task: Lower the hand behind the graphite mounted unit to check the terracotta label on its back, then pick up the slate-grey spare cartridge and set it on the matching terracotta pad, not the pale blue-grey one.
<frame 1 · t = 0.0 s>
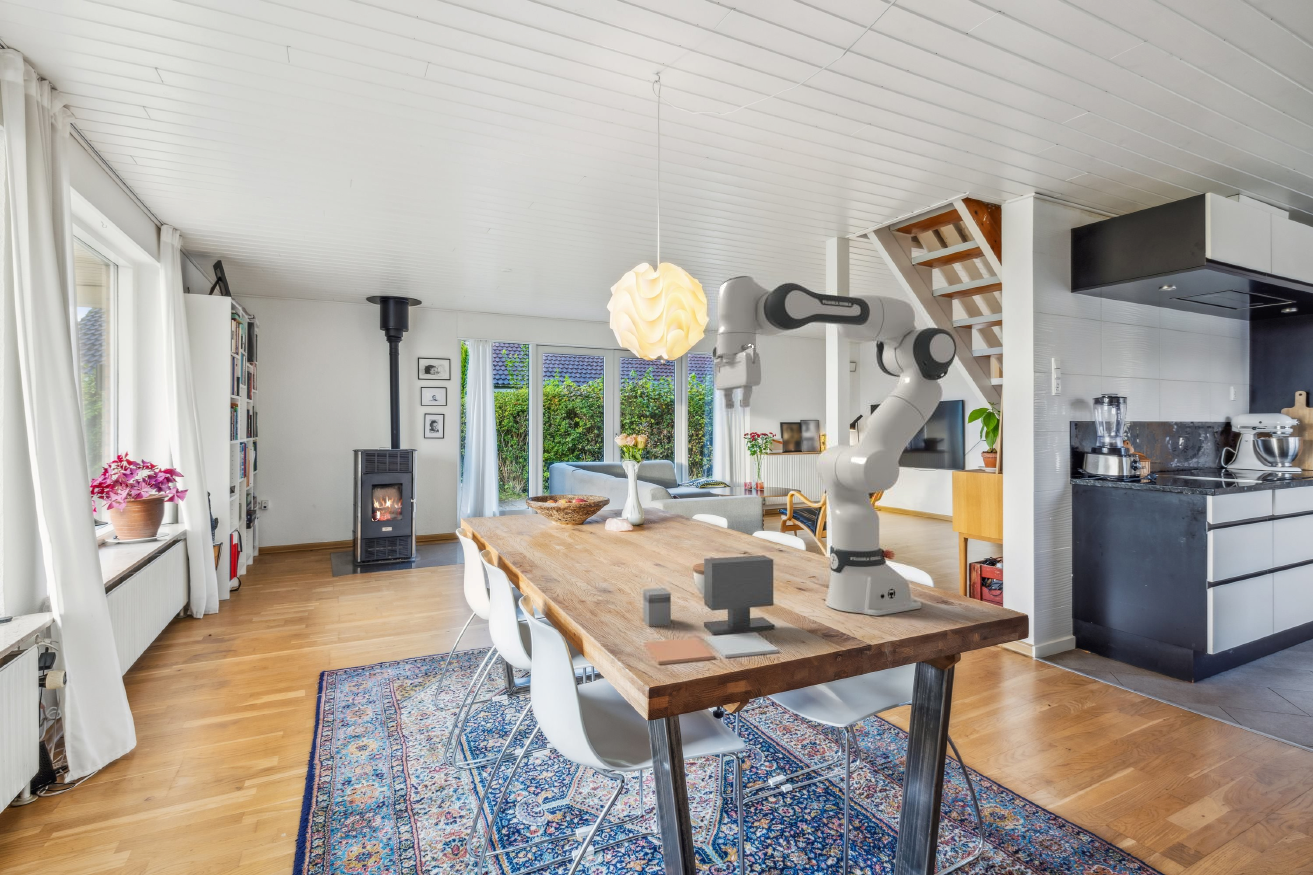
hand: (736, 408, 151), 48 cm above the table, fingers open, 8 cm apart
terracotta pad: (678, 651, 127), on the table
pale pad: (740, 645, 131), on the table
spare cartridge: (656, 622, 147), on the table
lidded jar: (713, 596, 170), on the table
mounted unit: (738, 627, 142), on the table
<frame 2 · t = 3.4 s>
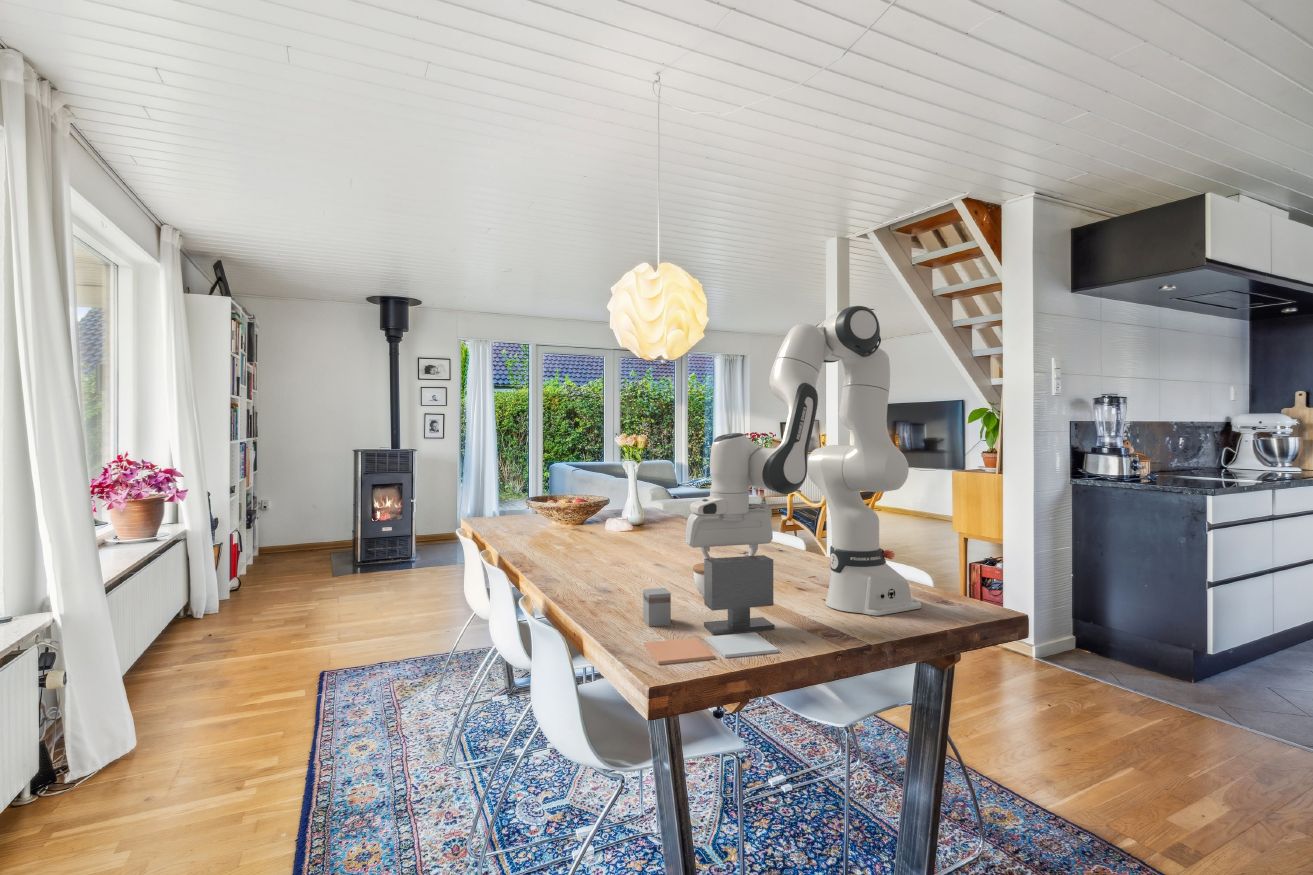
hand: (729, 564, 150), 12 cm above the table, fingers open, 8 cm apart
nothing on the table moved.
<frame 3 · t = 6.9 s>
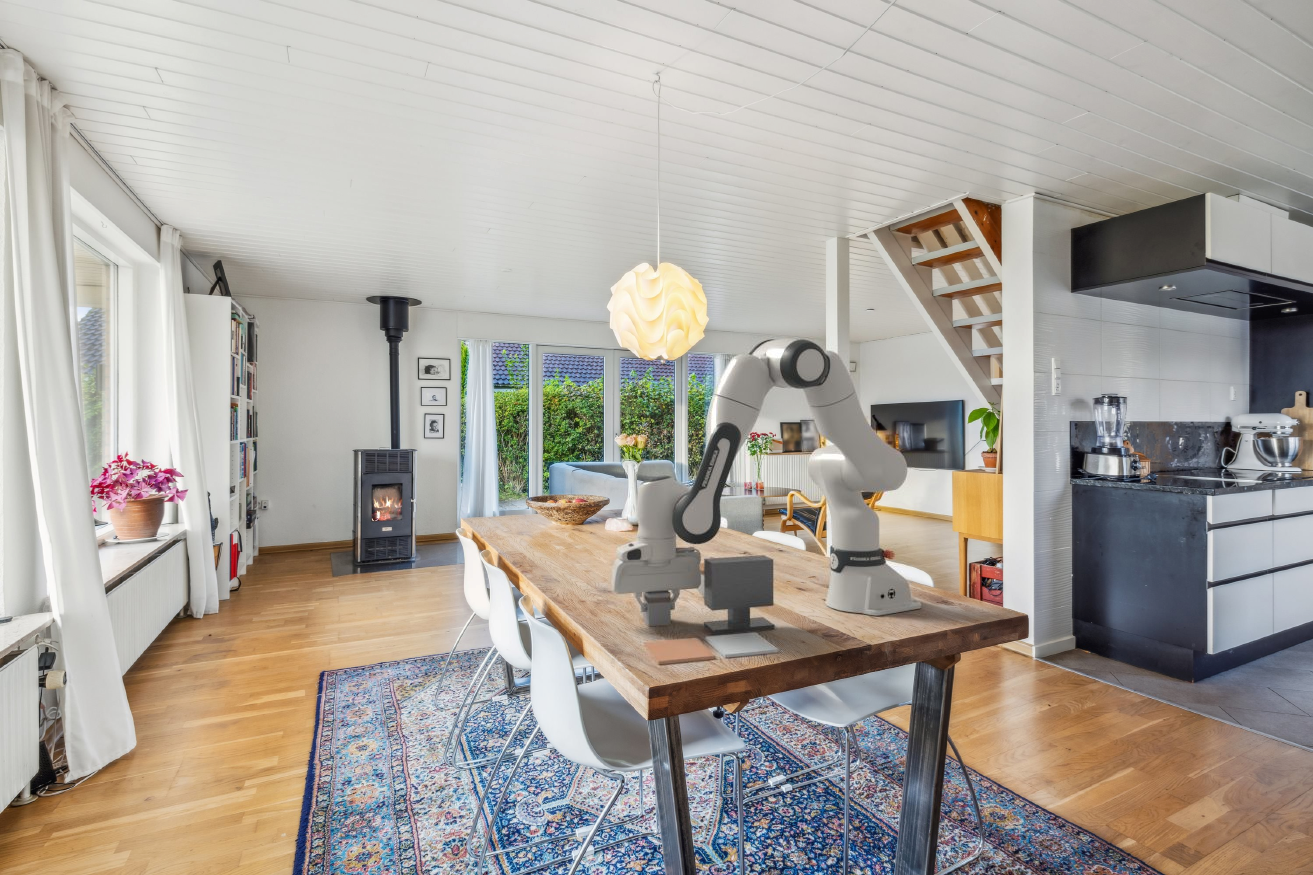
hand: (656, 610, 147), 3 cm above the table, fingers closed on spare cartridge, 5 cm apart
spare cartridge: (656, 622, 147), on the table, touching gripper
everything else where it was.
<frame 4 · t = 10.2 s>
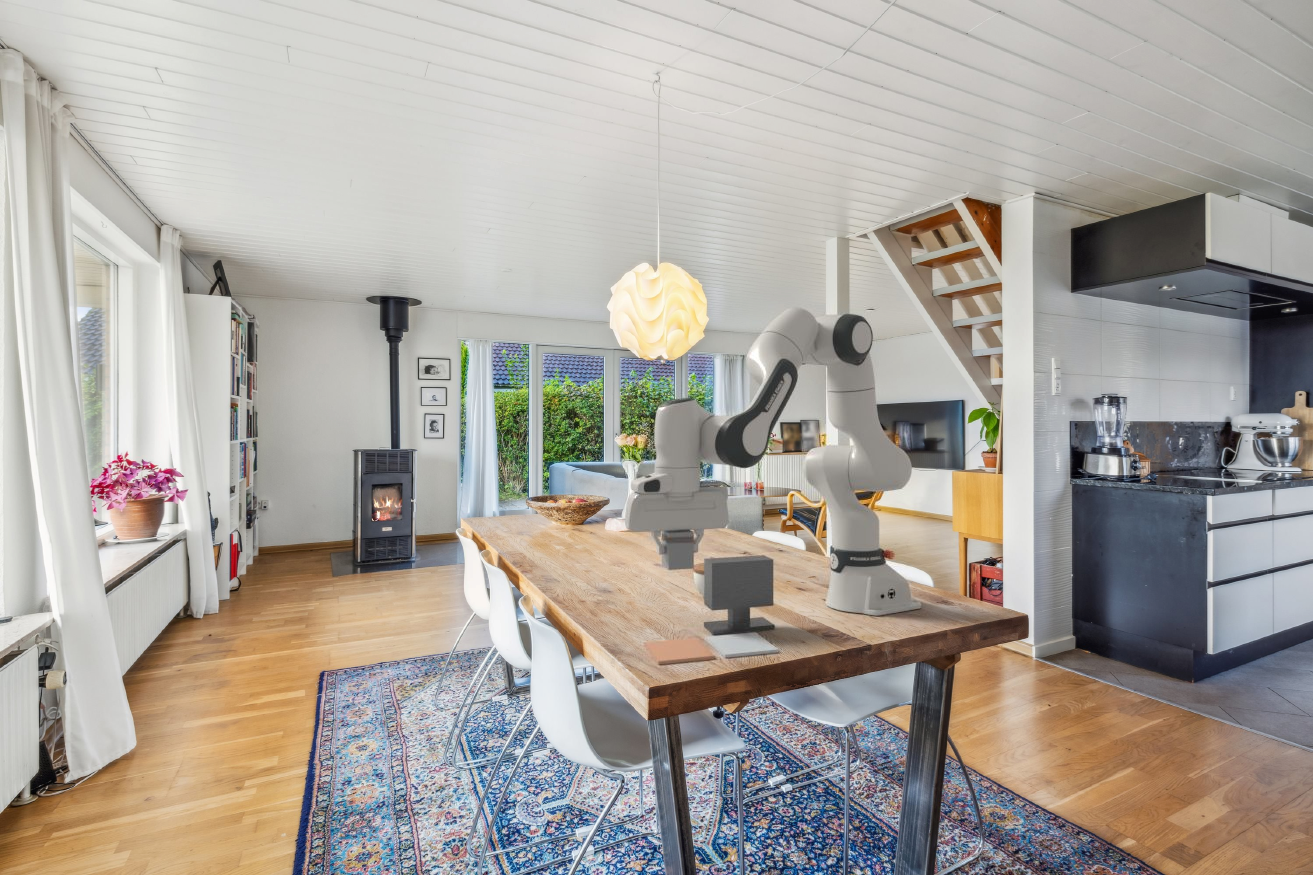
hand: (677, 553, 127), 19 cm above the table, fingers closed on spare cartridge, 5 cm apart
spare cartridge: (677, 566, 127), point 17 cm above the table, touching gripper
everything else where it was.
when the fingers open (5 cm above the table, at t = 13.4 s): spare cartridge drops 1 cm, resting on terracotta pad.
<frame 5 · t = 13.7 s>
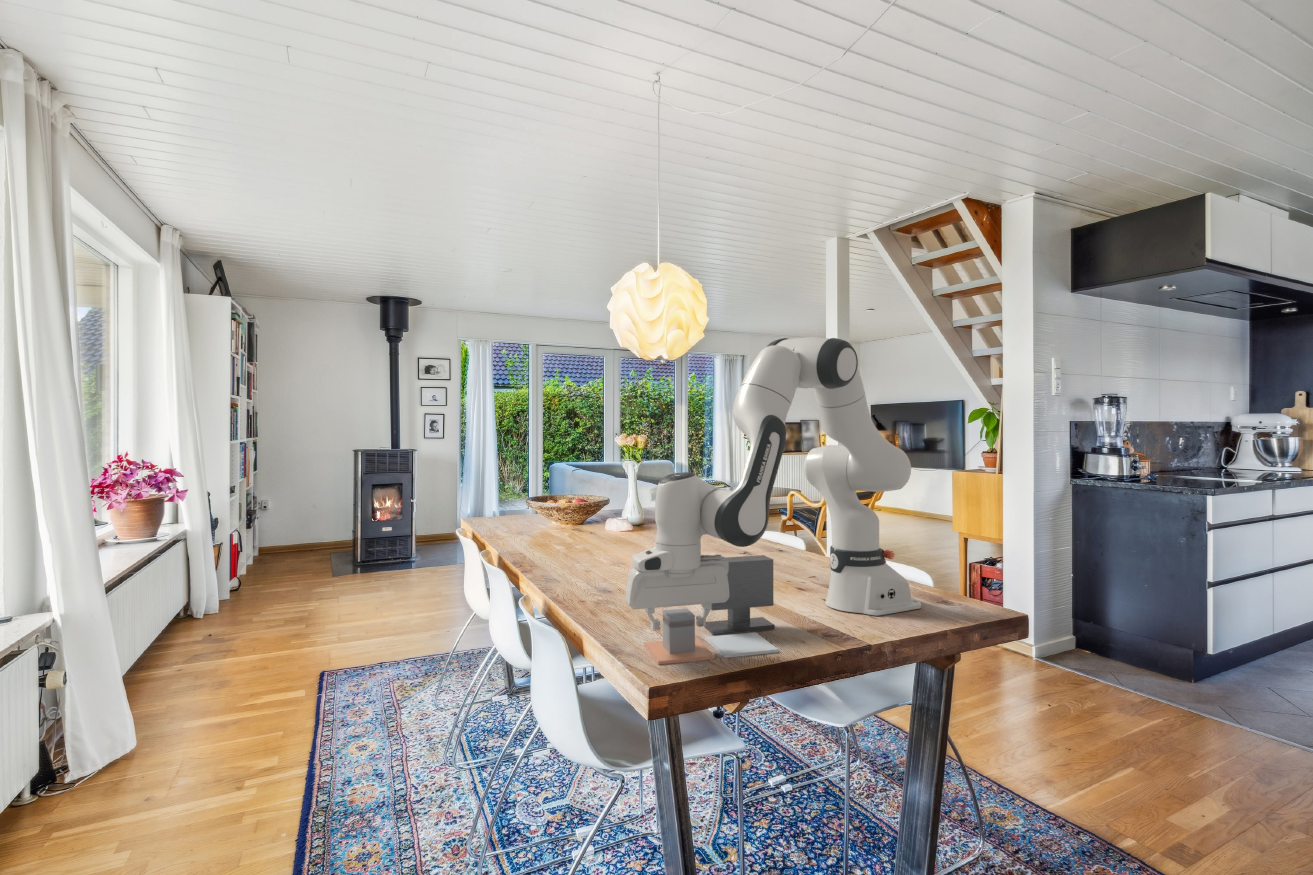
hand: (678, 627, 127), 5 cm above the table, fingers open, 8 cm apart
spare cartridge: (678, 648, 127), point 1 cm above the table, touching terracotta pad
everything else where it was.
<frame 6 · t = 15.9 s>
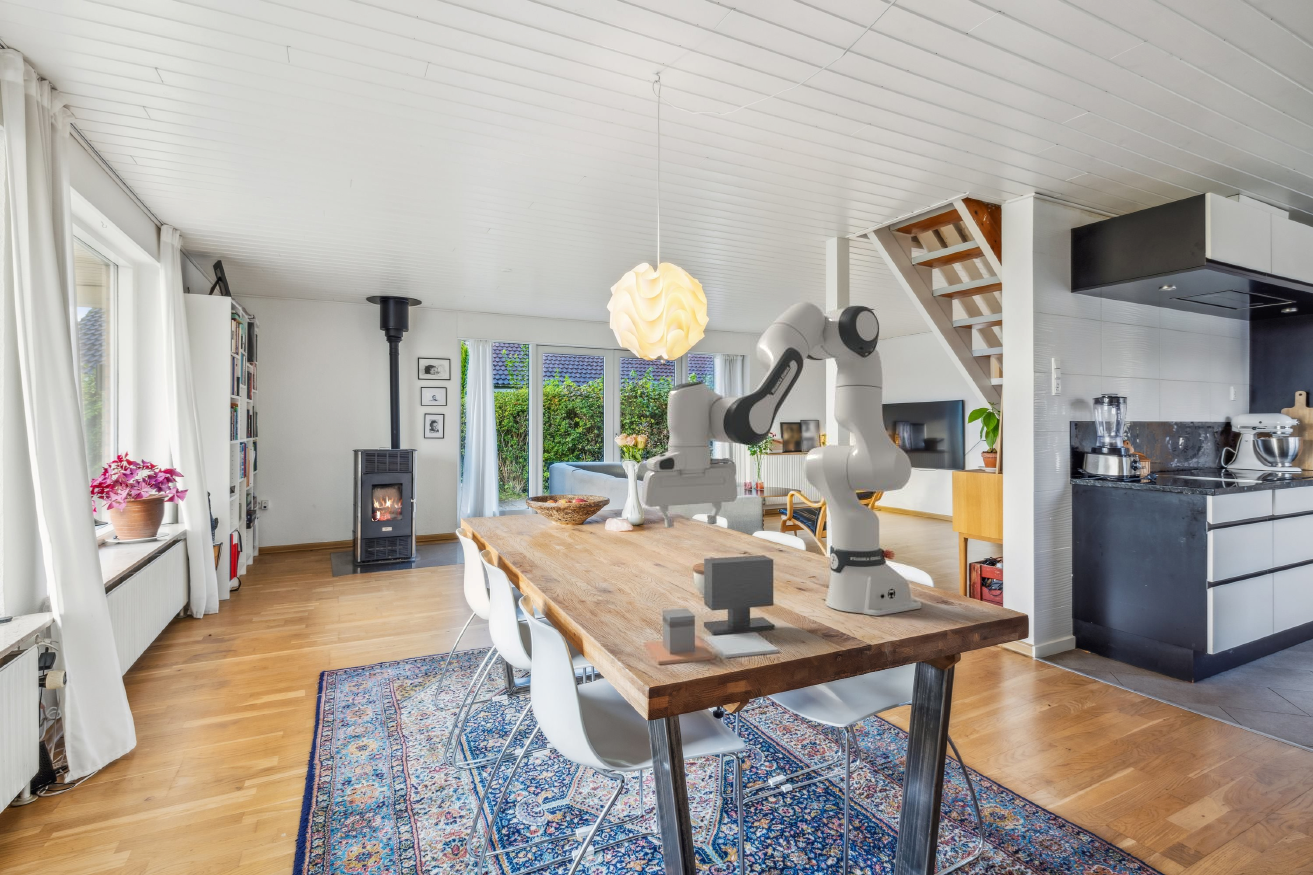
hand: (690, 525, 138), 23 cm above the table, fingers open, 8 cm apart
nothing on the table moved.
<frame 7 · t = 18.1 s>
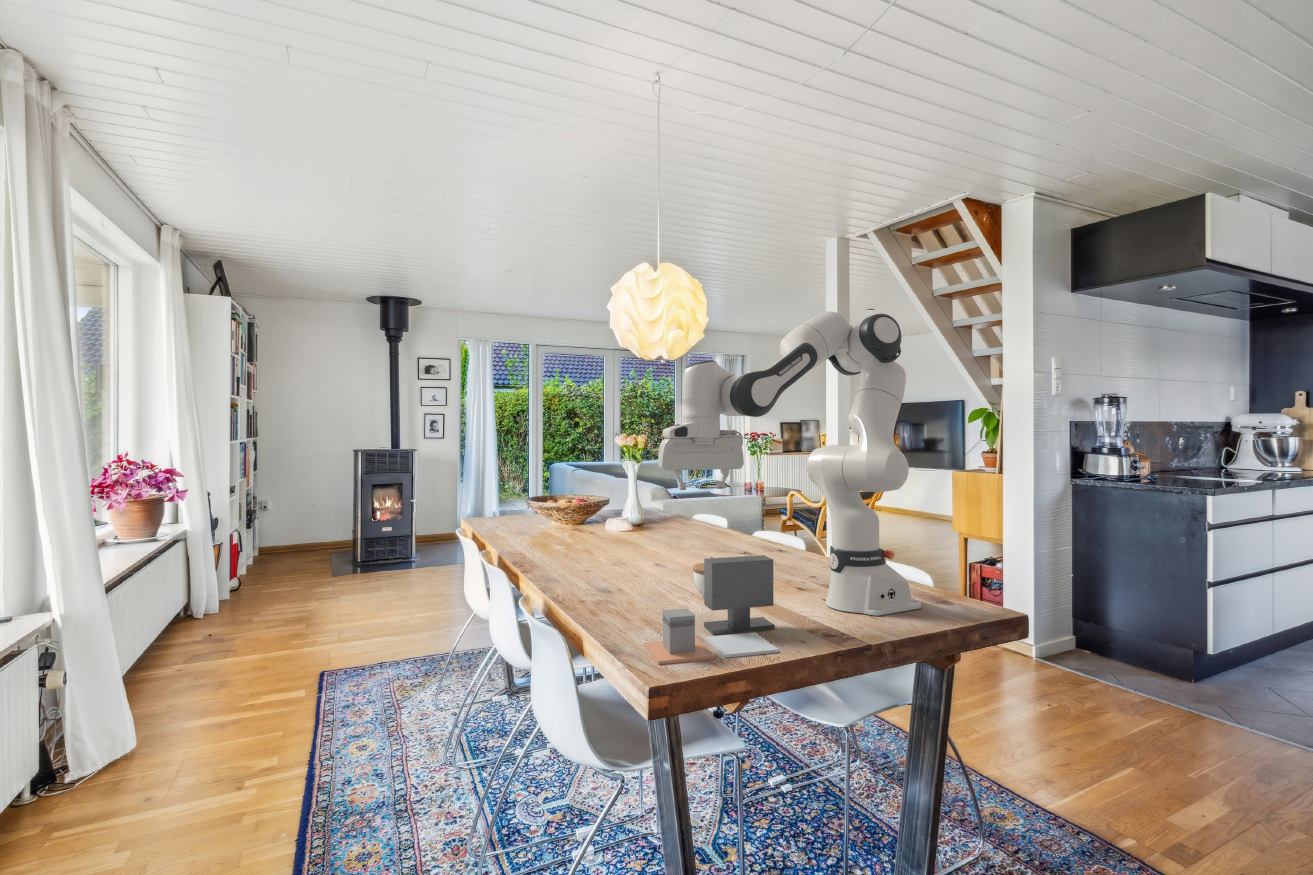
hand: (701, 489, 153), 29 cm above the table, fingers open, 8 cm apart
nothing on the table moved.
at the end: spare cartridge inside the target area on the terracotta pad (0.1 cm from its centre), point 0.6 cm above the terracotta pad's base; spare cartridge tilted 0°; the gripper is holding nothing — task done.
